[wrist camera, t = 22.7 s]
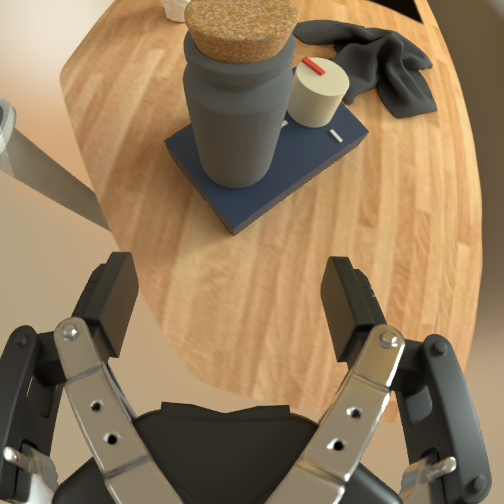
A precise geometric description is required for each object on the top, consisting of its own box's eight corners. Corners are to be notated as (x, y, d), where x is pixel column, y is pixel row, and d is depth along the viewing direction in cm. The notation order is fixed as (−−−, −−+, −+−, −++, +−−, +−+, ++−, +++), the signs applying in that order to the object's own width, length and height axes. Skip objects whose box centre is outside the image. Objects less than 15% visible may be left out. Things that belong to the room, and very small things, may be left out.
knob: (341, 113, 25) (360, 80, 20) (311, 136, 24) (327, 102, 19) (307, 84, 25) (320, 48, 20) (276, 104, 24) (285, 67, 19)
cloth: (423, 46, 32) (440, 23, 26) (449, 139, 29) (477, 117, 23) (287, 6, 31) (294, -25, 25) (280, 91, 28) (289, 53, 22)
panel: (233, 236, 26) (233, 228, 23) (170, 155, 26) (163, 139, 23) (363, 142, 28) (375, 127, 25) (300, 78, 29) (306, 60, 25)
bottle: (251, 118, 24) (268, -27, 9) (283, 171, 24) (340, 33, 9) (189, 144, 24) (153, -1, 9) (219, 201, 23) (200, 68, 8)
